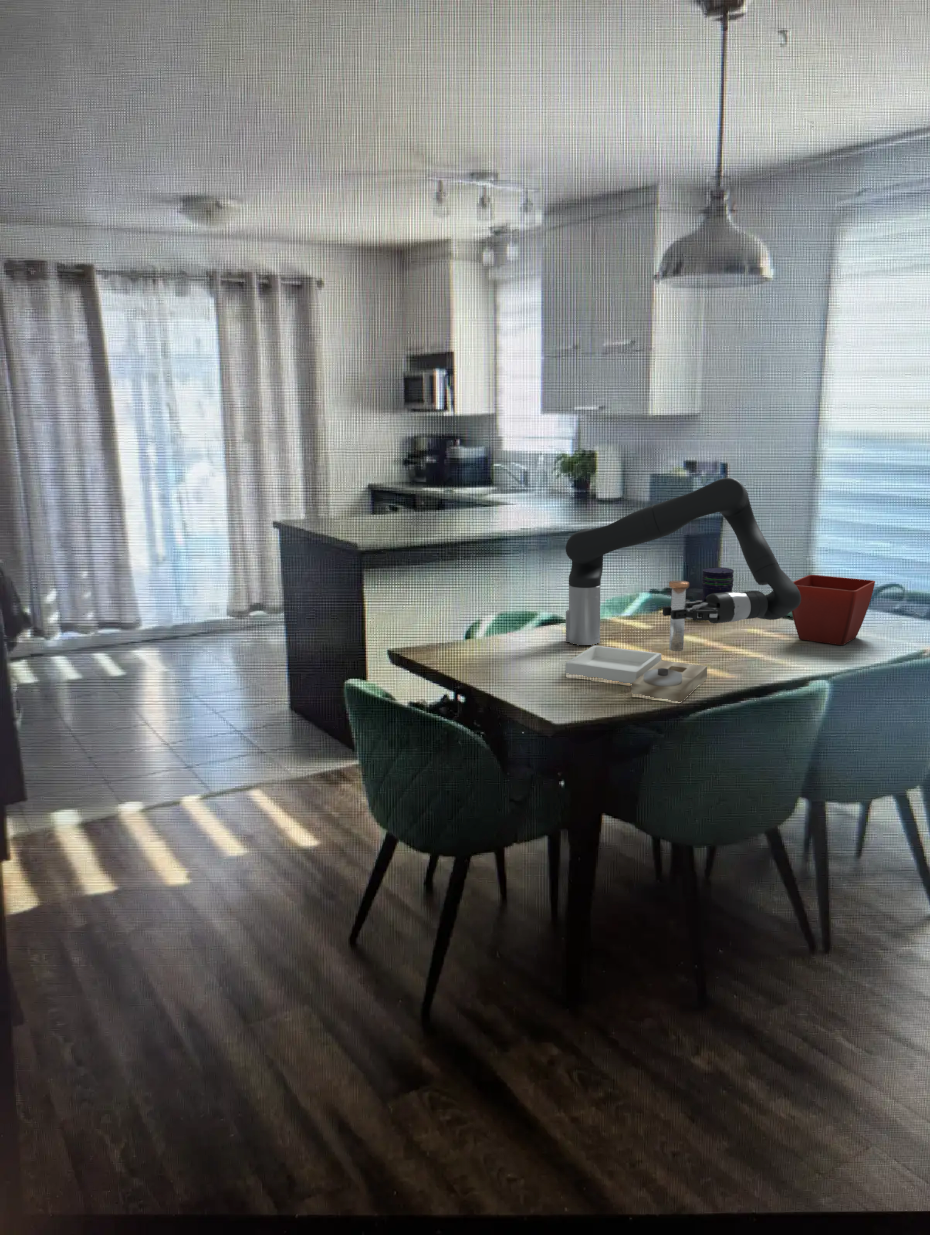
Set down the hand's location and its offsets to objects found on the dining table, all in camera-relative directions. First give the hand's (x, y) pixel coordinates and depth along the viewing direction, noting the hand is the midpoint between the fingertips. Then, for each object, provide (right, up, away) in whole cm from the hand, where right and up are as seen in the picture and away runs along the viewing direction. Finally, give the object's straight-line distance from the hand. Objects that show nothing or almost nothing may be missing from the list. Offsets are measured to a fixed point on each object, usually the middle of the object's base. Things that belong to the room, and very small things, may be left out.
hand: (667, 613), depth 224 cm
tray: (-11, -15, +14) cm, 24 cm away
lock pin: (+3, -9, +3) cm, 10 cm away
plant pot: (+56, -7, +43) cm, 72 cm away
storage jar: (+32, 0, +75) cm, 82 cm away
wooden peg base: (+1, -18, +1) cm, 18 cm away
